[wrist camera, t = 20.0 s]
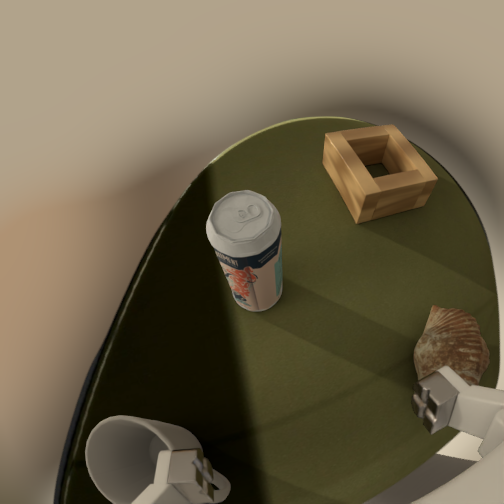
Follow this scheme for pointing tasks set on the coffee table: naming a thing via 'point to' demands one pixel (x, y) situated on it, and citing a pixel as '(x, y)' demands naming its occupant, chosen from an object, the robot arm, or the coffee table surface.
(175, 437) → the cup
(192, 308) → the coffee table surface
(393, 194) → the holder
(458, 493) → the robot arm
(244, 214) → the beer can
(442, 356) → the seashell
